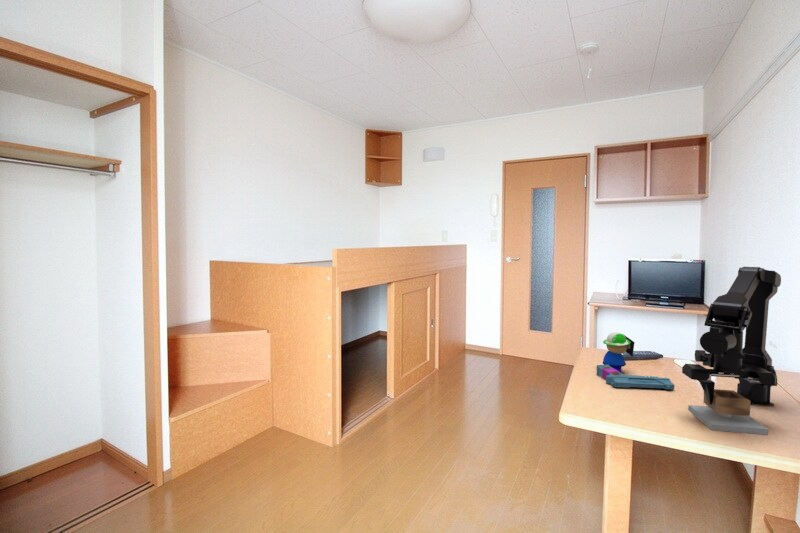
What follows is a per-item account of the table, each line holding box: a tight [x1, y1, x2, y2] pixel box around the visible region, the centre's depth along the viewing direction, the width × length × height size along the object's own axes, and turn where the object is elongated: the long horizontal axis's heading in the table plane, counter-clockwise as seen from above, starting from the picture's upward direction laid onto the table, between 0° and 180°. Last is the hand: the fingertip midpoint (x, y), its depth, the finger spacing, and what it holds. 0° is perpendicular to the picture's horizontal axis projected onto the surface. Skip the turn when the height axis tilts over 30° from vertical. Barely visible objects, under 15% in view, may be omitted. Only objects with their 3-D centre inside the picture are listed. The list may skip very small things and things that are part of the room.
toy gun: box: [596, 364, 675, 390], centre depth 130 cm, size 4×20×15 cm
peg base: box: [687, 404, 769, 436], centre depth 101 cm, size 12×12×6 cm
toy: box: [602, 331, 635, 374], centre depth 141 cm, size 9×9×15 cm
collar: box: [703, 388, 751, 417], centre depth 101 cm, size 7×7×4 cm
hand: (725, 405), depth 101 cm, fingers closed on collar, 7 cm apart
